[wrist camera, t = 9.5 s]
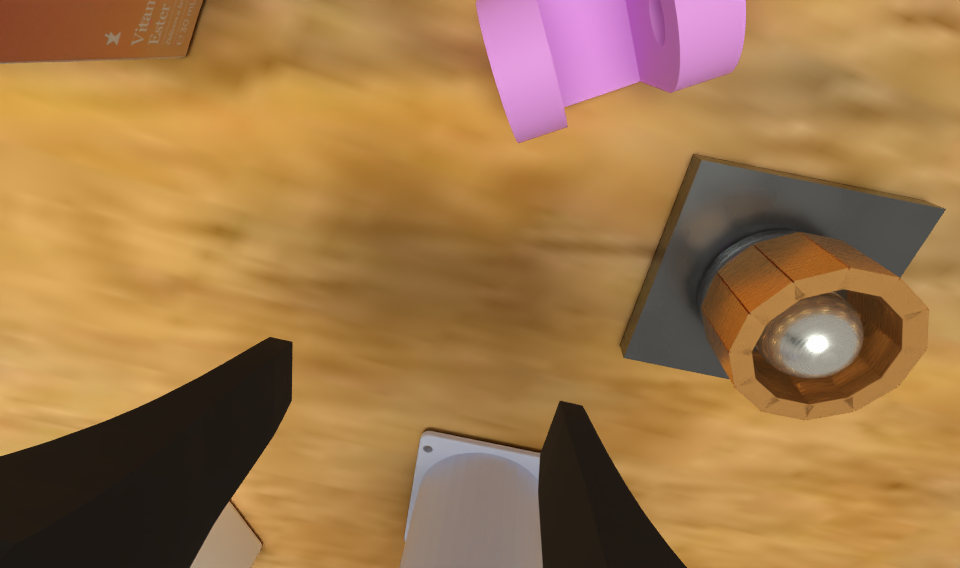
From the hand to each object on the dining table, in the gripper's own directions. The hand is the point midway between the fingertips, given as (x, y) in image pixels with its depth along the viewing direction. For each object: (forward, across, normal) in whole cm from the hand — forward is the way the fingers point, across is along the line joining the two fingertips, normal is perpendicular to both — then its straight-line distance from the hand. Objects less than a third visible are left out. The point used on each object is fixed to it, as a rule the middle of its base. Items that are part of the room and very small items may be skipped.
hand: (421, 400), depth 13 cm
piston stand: (+9, -12, -2) cm, 16 cm away
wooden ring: (+7, -12, -2) cm, 14 cm away
